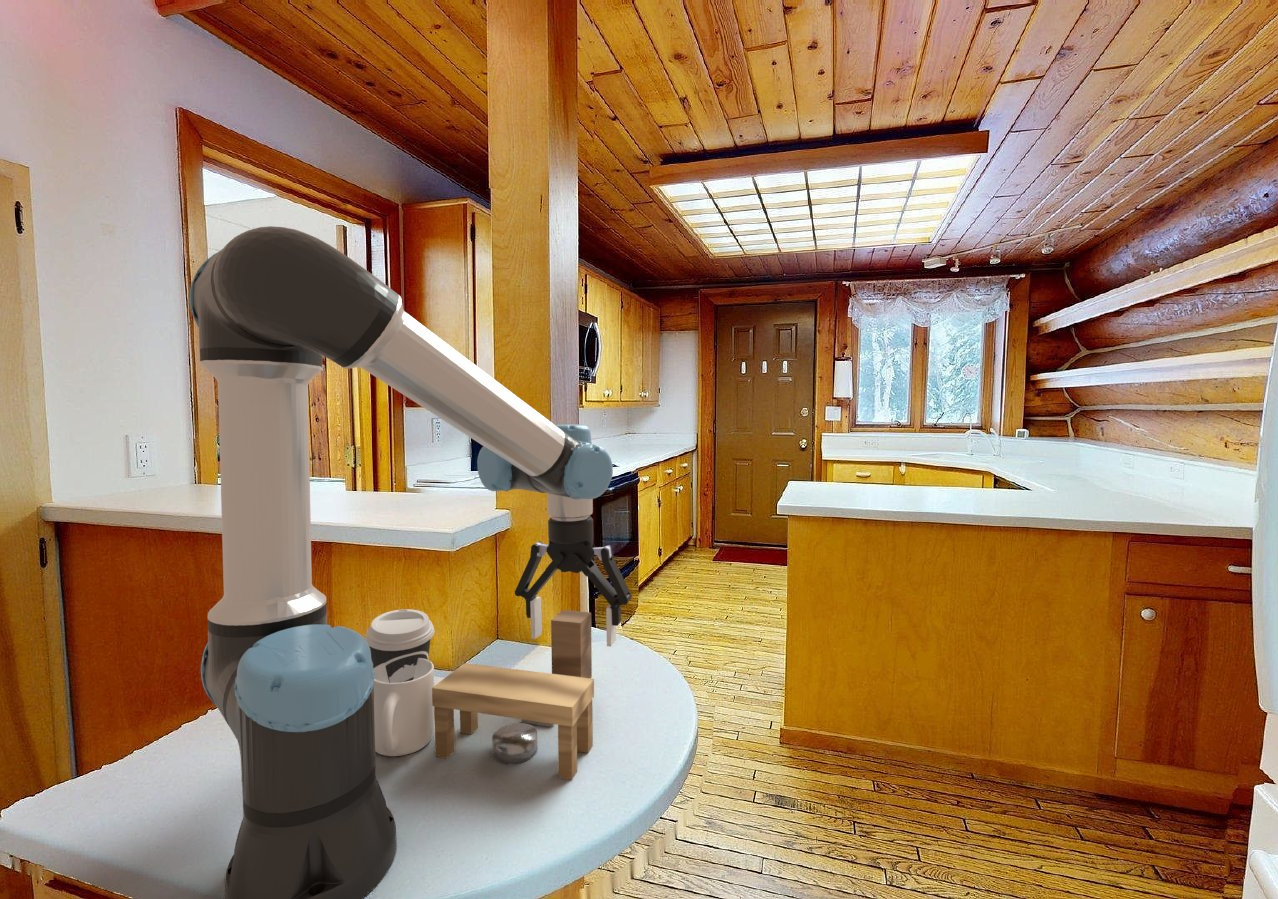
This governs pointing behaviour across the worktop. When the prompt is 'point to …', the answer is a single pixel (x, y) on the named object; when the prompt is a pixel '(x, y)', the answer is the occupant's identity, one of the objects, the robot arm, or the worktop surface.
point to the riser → (516, 706)
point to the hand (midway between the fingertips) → (573, 639)
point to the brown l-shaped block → (570, 647)
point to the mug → (403, 711)
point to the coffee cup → (400, 642)
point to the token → (515, 743)
